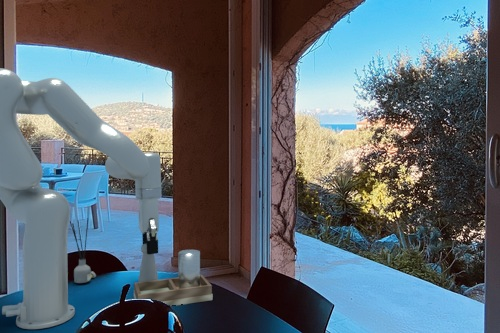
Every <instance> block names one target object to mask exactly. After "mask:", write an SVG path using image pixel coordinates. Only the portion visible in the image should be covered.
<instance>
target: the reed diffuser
mask: <svg viewBox="0 0 500 333" xmlns="http://www.w3.org/2000/svg"><path fill="white" fill-rule="evenodd" d="M86 219H87V221H86V232H85V241H84V242H85V243H84V250H83V243H82V237H81V230H80V229H81V228H80V222H79V221H80V220H79V219H77V225H78V226H77V228H78V233H79V240H80V246H81V249H80V247H79V244H78V240H77V234H76V230H75V226H74V223H72V220H69V225H70V226H71V229H72V232H73V236H74V240H75V243H76V248H77V251H78V256H79V259H78V265H77V266H76V267H75V268H74V270H73V278H74V283H76V284H84V283H88V282H90V281H91V279H94V278H96V277H97V274H96V273H95V272H94V271H92V270H91V266H89V265H88V264H86V263H87V262H86V247H87V238H88V226H89V225H88V224H89V218H86Z"/></svg>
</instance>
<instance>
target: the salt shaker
mask: <svg viewBox="0 0 500 333" xmlns="http://www.w3.org/2000/svg"><path fill="white" fill-rule="evenodd" d="M140 251H141V254H142V257H141V263H140V269H139V274H138V282H145V281H153V280H159V275H158V270H157V264H156V259H155V254H149V255H148V254H147V243H146V244H143V243H142V244H141V247H140Z"/></svg>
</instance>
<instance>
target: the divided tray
mask: <svg viewBox="0 0 500 333" xmlns="http://www.w3.org/2000/svg"><path fill="white" fill-rule="evenodd" d="M212 287H213V285H212V284H211V283H210V282H209V281H208V279H207V278H206V277H205V276H204V275H203V274H201V273H200V286H197V287H189V288H182V289H178V277H170V278H161V279H158V280H153V281H145V282H139V281H138V282H133V292H132V293H133V299H134V298H135V299H152V300H157V301H161V302H163V303H165V304H167V305H170V307H173V306H172V305H176V306H181V304H183V305H188V304H194V303H200V302H201V303H202V302H208V301H213V297H214V296H213V293H212V292H213V290H212V289H213V288H212Z"/></svg>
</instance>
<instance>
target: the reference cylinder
mask: <svg viewBox="0 0 500 333" xmlns="http://www.w3.org/2000/svg"><path fill="white" fill-rule="evenodd" d="M177 256H178V257H177V258H178V260H177V261H178V263H177V264H178V272H177V273H178V275H177V276H178V289H182V288H189V287H197V286H200V275H201V251H200V250H199V249H198V250H197V249H182V250H180V251H179V252H178V255H177Z"/></svg>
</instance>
